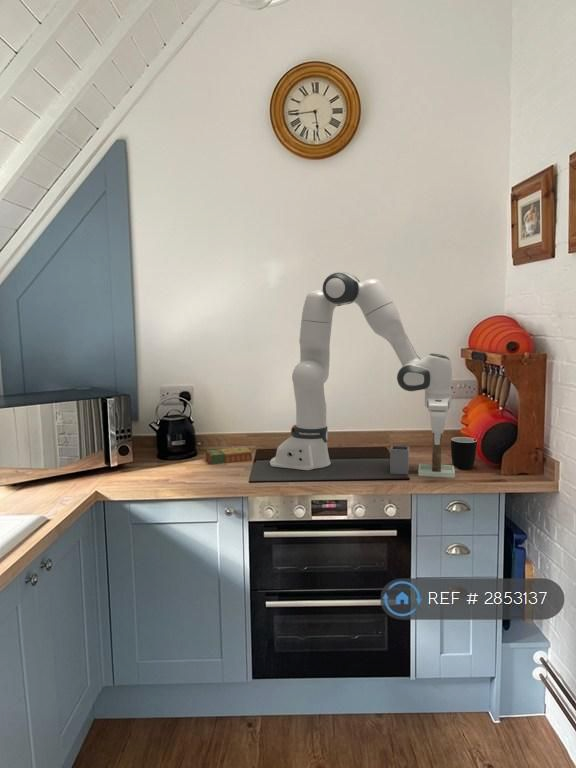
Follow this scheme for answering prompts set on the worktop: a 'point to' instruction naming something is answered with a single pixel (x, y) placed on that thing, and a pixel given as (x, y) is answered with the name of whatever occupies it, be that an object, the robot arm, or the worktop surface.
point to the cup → (399, 460)
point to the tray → (445, 472)
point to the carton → (228, 455)
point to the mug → (463, 452)
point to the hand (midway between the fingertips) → (437, 441)
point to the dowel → (436, 456)
